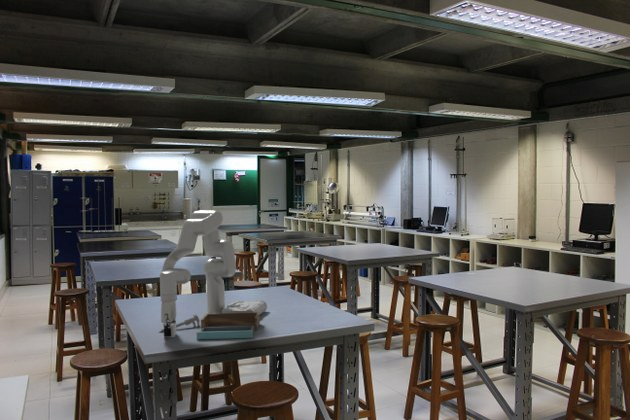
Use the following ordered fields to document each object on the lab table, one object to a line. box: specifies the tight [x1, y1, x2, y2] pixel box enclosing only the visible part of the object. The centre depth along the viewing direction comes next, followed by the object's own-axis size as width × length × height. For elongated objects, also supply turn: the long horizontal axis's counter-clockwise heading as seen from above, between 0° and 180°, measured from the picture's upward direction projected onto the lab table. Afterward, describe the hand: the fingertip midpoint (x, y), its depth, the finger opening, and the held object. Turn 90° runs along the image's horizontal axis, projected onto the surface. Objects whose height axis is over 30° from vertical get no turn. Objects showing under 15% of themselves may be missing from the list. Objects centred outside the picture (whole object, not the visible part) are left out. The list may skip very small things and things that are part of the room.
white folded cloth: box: [222, 300, 268, 316], centre depth 275 cm, size 19×28×8 cm
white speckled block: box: [168, 322, 177, 338], centre depth 236 cm, size 5×5×6 cm
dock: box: [200, 312, 261, 331], centre depth 248 cm, size 12×27×6 cm, turn 91°
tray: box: [196, 325, 255, 340], centre depth 235 cm, size 12×26×3 cm, turn 91°
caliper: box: [160, 314, 200, 333], centre depth 249 cm, size 20×1×6 cm, turn 124°
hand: (170, 333), depth 236 cm, fingers open, 7 cm apart
